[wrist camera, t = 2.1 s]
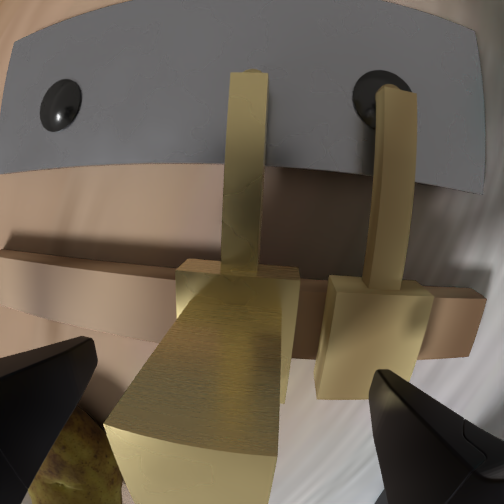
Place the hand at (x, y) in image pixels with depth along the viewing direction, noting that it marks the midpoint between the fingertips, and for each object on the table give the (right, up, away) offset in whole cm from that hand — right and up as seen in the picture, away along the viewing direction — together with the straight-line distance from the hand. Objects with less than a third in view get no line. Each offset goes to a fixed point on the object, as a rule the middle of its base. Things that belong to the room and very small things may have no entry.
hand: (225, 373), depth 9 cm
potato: (-11, -11, +9) cm, 19 cm away
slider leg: (0, +4, +3) cm, 5 cm away
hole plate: (-1, +11, +3) cm, 11 cm away
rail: (-1, +5, +4) cm, 7 cm away
